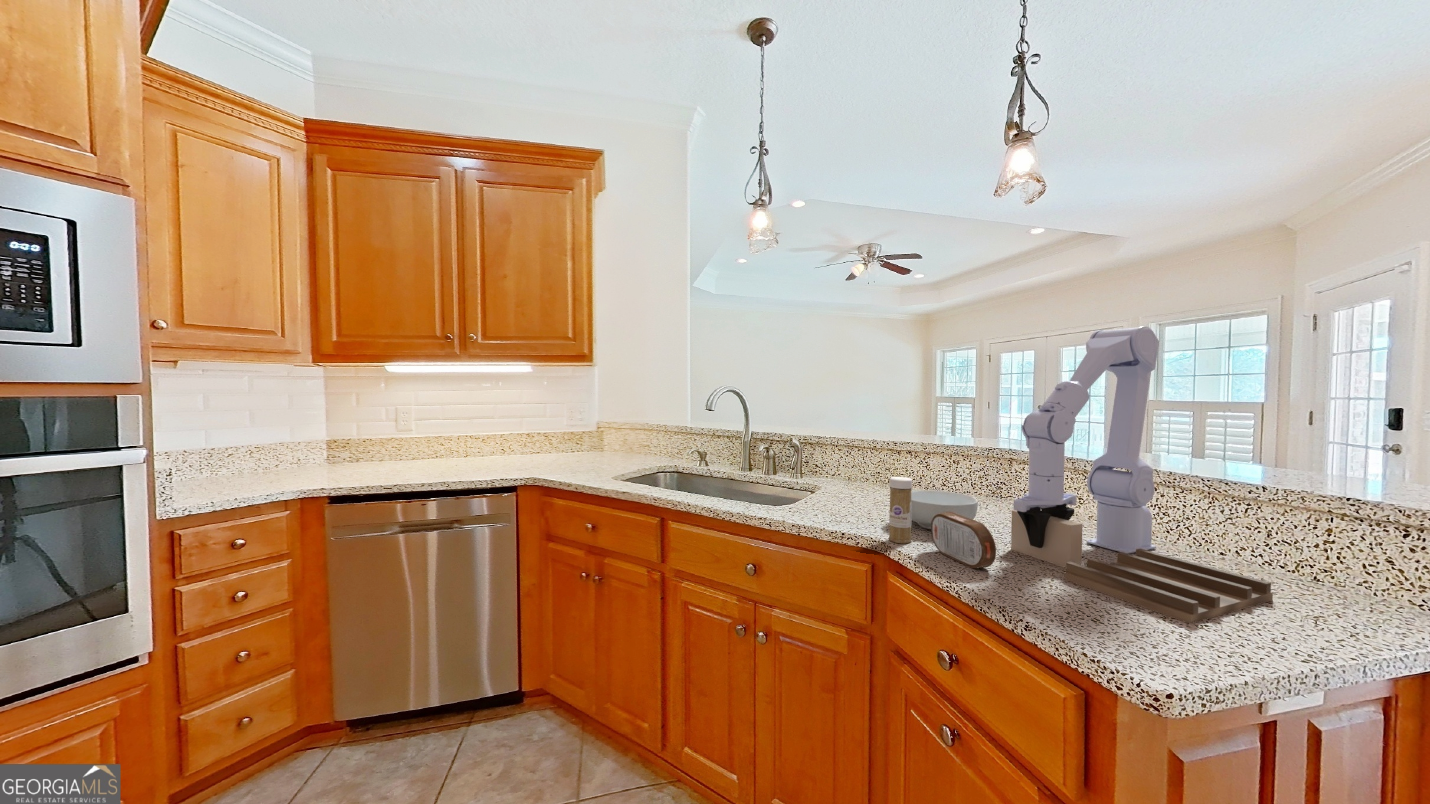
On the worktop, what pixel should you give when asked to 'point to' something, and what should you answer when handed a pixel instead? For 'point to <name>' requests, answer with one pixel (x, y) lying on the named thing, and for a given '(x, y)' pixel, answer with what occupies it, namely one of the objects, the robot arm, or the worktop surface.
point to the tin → (963, 539)
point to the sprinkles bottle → (900, 509)
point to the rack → (1170, 585)
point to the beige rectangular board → (1050, 541)
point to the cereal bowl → (940, 505)
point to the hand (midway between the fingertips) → (1044, 545)
